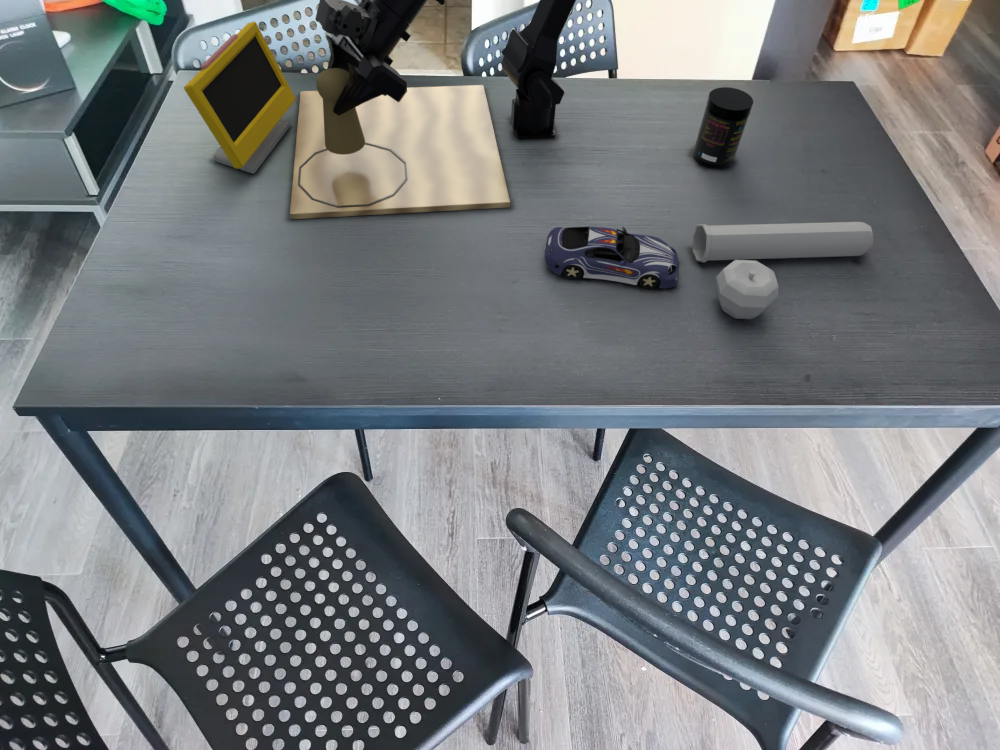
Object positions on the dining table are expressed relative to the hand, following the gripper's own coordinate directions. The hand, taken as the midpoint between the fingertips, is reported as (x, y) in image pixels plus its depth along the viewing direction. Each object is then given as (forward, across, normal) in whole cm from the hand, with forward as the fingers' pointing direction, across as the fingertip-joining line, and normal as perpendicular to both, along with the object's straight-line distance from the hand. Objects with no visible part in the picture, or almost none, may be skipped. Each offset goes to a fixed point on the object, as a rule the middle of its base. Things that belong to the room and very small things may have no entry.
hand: (329, 104), depth 101 cm
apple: (-17, +51, +34) cm, 64 cm away
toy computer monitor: (+15, -12, +1) cm, 20 cm away
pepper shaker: (+4, 0, +6) cm, 7 cm away
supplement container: (-31, +22, +48) cm, 61 cm away
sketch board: (+1, -2, +15) cm, 16 cm away
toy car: (-10, +37, +26) cm, 46 cm away
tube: (-26, +46, +43) cm, 68 cm away
